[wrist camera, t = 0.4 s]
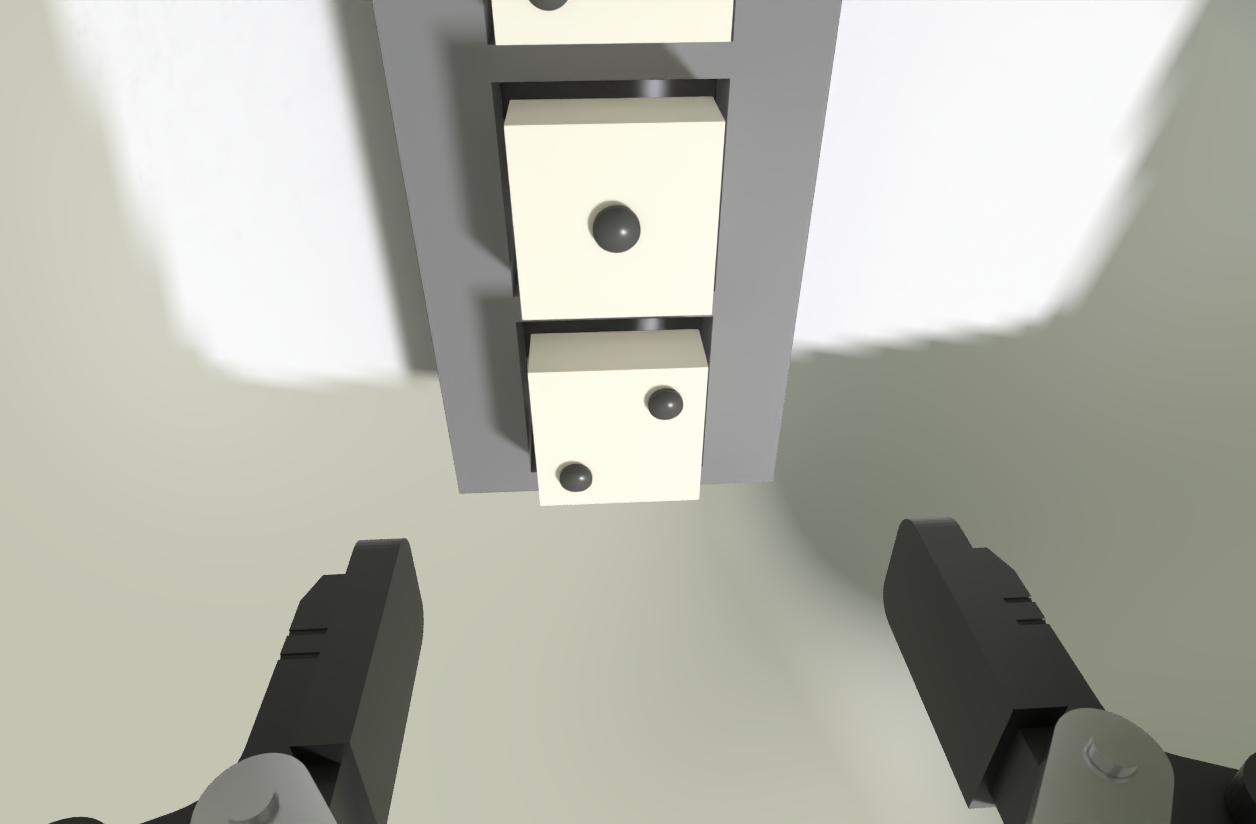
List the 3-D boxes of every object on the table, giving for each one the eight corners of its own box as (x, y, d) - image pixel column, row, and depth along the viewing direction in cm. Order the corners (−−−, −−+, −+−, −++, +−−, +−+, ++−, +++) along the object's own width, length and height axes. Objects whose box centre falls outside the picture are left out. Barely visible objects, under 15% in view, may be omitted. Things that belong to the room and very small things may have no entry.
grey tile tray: (859, -326, 20) (891, -343, 18) (761, 444, 35) (772, 481, 33) (337, -328, 19) (310, -347, 17) (466, 454, 34) (459, 493, 32)
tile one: (712, 96, 23) (726, 123, 21) (701, 278, 27) (712, 317, 25) (510, 99, 23) (503, 128, 21) (526, 283, 27) (521, 323, 24)
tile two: (699, 328, 28) (709, 370, 26) (691, 457, 32) (699, 503, 29) (531, 333, 28) (527, 376, 26) (542, 462, 31) (540, 509, 29)
